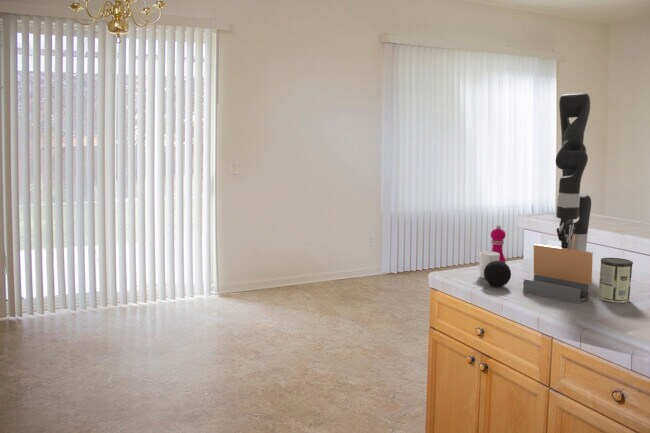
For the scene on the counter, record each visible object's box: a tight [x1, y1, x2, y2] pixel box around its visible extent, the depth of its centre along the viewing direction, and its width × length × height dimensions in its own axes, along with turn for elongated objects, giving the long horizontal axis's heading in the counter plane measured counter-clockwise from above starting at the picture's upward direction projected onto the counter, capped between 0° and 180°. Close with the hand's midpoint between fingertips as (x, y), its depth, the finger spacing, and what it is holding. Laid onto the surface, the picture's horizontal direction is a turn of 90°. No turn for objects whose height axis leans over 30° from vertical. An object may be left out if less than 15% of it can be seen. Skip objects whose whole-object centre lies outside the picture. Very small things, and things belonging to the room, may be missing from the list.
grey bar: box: [522, 281, 589, 299], centre depth 217 cm, size 2×23×2 cm, turn 48°
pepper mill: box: [490, 224, 507, 263], centre depth 250 cm, size 7×7×20 cm
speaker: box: [483, 261, 512, 288], centre depth 227 cm, size 10×10×10 cm
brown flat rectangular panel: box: [533, 243, 594, 285], centre depth 218 cm, size 12×21×1 cm
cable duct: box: [522, 274, 590, 304], centre depth 216 cm, size 10×20×5 cm, turn 48°
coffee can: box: [597, 257, 634, 304], centre depth 212 cm, size 10×10×14 cm
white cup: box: [478, 250, 500, 279], centre depth 241 cm, size 8×8×10 cm
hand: (564, 251), depth 219 cm, fingers closed
